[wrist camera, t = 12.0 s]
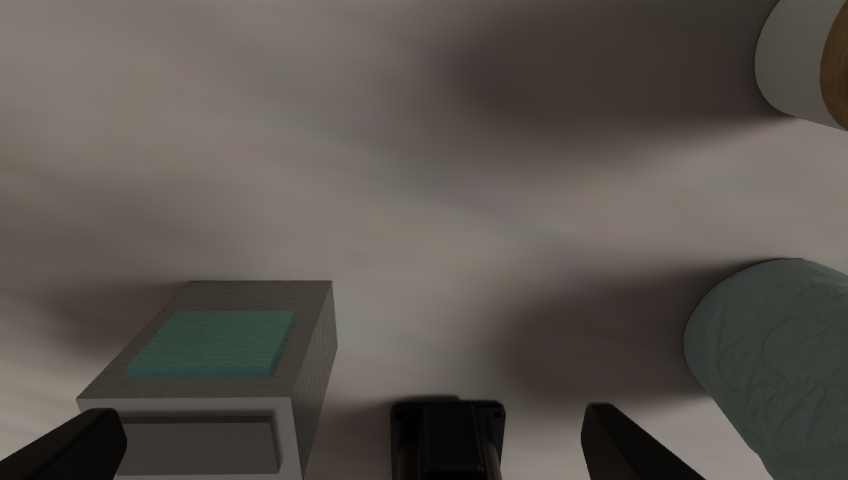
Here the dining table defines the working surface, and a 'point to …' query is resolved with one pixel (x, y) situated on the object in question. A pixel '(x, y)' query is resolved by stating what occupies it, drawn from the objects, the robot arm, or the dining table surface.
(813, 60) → the coffee cup
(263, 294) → the napkin dispenser
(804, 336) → the drinking glass
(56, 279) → the dining table surface
